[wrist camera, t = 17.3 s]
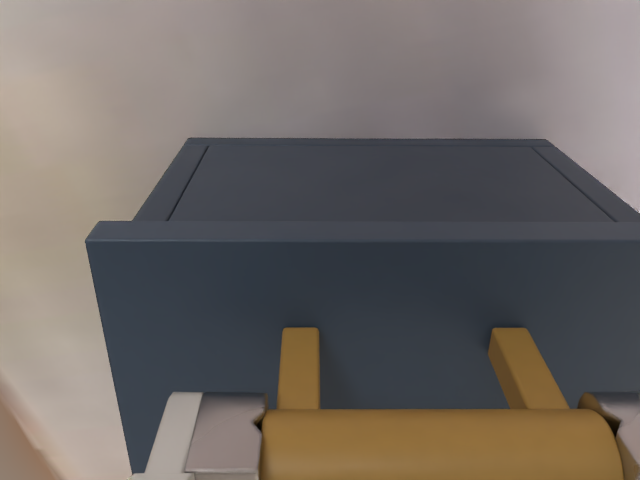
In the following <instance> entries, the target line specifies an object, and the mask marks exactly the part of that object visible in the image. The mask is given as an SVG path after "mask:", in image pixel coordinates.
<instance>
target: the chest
mask: <svg viewBox="0 0 640 480" xmlns="http://www.w3.org/2000/svg"><path fill="white" fill-rule="evenodd" d="M132 221H310V222H640V214H639V213H638V212H637V211H636V210H634V209H633V208H632V207H631V206H629V205H628V204H627V203H626V202H624V201H623V200H622V199H621V198H619V197H618V196H617V195H616V194H614V193H613V192H612V191H611V190H609V189H608V188H607V187H605V186H604V185H603V184H602V183H600V182H599V181H598V180H597V179H595V178H594V177H593V176H592V175H590V174H589V173H588V172H587V171H585V170H584V169H583V168H582V167H580V166H579V165H578V164H577V163H575V162H574V161H573V160H572V159H570V158H569V157H568V156H566V155H565V154H564V153H563V152H561V151H560V150H559V149H558V148H556V147H555V146H554V145H553V144H551V143H550V142H549V141H548V140H546V139H328V138H188V139H187V141H186V142H185V144H184V146H183V147H182V148H181V150H180V151H179V153H178V154H177V156H176V157H175V159H174V160H173V161H172V163H171V164H170V166H169V167H168V169H167V170H166V172H165V173H164V175H163V176H162V178H161V179H160V181H159V182H158V184H157V185H156V186H155V188H154V189H153V191H152V192H151V194H150V195H149V197H148V198H147V200H146V201H145V203H144V204H143V206H142V207H141V209H140V210H139V211H138V213H137V214H136V216H135V217H134V219H133V220H132Z"/></svg>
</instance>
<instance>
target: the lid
mask: <svg viewBox="0 0 640 480" xmlns="http://www.w3.org/2000/svg"><path fill="white" fill-rule="evenodd" d="M85 243H86V248H87V253H88V258H89V263H90V268H91V273H92V278H93V283H94V288H95V293H96V298H97V303H98V307H99V312H100V317H101V322H102V327H103V332H104V337H105V342H106V347H107V352H108V357H109V362H110V367H111V372H112V377H113V381H114V386H115V391H116V396H117V401H118V406H119V411H120V416H121V421H122V426H123V431H124V436H125V441H126V446H127V451H128V455H129V460H130V465H131V470H132V475H133V474H134V473H145V470H146V466H147V463H148V460H149V457H150V454H151V451H152V448H153V445H154V441H155V438H156V435H157V432H158V429H159V426H160V423H161V420H162V416H163V413H164V410H165V407H166V404H167V401H168V398H169V397H170V396H171V394H172V393H173V392H203V393H205V392H240V393H267V395H268V407H269V410H267V411H266V413H265V417H264V419H263V422H262V430H261V433H262V461H261V480H624V474H623V466H622V461H621V457H620V452H619V449H618V446H617V443H616V440H615V436H614V434H613V432H612V430H611V428H610V426H609V425H608V423H607V422H606V420H605V419H604V418H603V417H602V416H601V415H599V414H598V413H597V412H595V411H593V410H590V409H577V406H578V402H579V399H580V397H581V396H582V395H583V394H584V392H618V391H640V222H310V221H99V222H98V223H97V224H96V226H95V227H94V228H93V230H92V231H91V232H90V234H89V235H88V236H87V238H86V239H85Z"/></svg>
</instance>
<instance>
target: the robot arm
mask: <svg viewBox="0 0 640 480" xmlns="http://www.w3.org/2000/svg"><path fill="white" fill-rule="evenodd" d="M577 409H590V410H593V411H595V412H597V413H598V414H599V415H601V416H602V417H603V418H604V419H605V420H606V422H607V423H608V425H609V426H610V428H611V430H612V432H613V434H614V436H615V440H616V443H617V446H618V449H619V452H620V457H621V461H622V466H623V474H624V480H640V391H618V392H584V394H583V395H582V396H581V397H580V399H579V402H578V406H577ZM267 410H269V407H268V395H267V393H240V392H205V393H203V392H173V393H172V394H171V396H170V397H169V398H168V401H167V404H166V407H165V410H164V413H163V416H162V420H161V423H160V426H159V429H158V432H157V435H156V438H155V441H154V445H153V448H152V451H151V454H150V457H149V460H148V463H147V466H146V470H145V473H134V474H133V475H132V476H131V477H130V478H128V479H127V480H261V461H262V433H261V430H262V422H263V419H264V417H265V413H266V411H267Z"/></svg>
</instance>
